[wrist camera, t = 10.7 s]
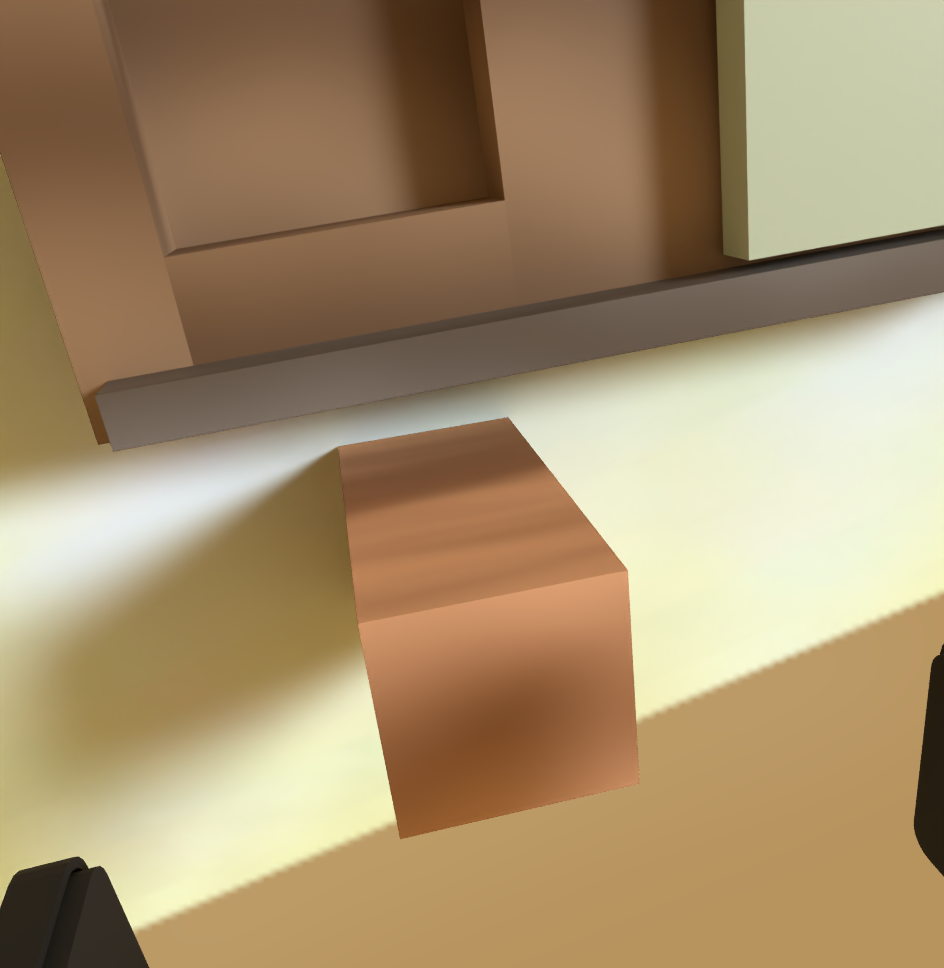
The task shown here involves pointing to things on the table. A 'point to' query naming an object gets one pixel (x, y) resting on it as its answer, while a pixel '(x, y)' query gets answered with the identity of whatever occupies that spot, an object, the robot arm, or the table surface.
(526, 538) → the block
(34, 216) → the puzzle board
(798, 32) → the lid
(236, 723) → the table surface
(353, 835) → the table surface
